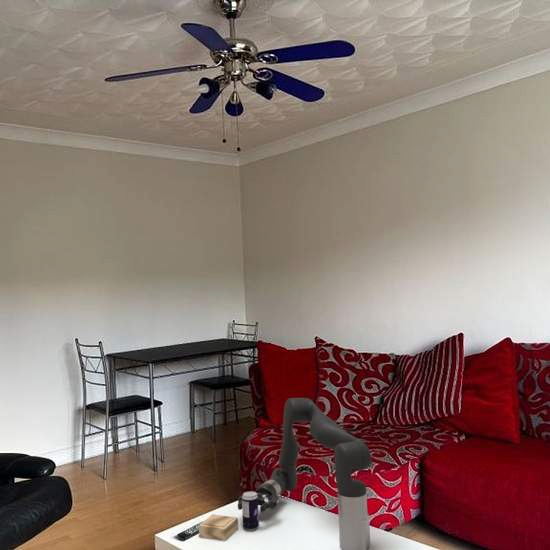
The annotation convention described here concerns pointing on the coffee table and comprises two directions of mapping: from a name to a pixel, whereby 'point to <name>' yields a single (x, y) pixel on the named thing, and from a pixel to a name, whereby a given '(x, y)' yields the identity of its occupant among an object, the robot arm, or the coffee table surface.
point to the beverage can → (250, 511)
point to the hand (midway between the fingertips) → (250, 508)
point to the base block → (218, 527)
